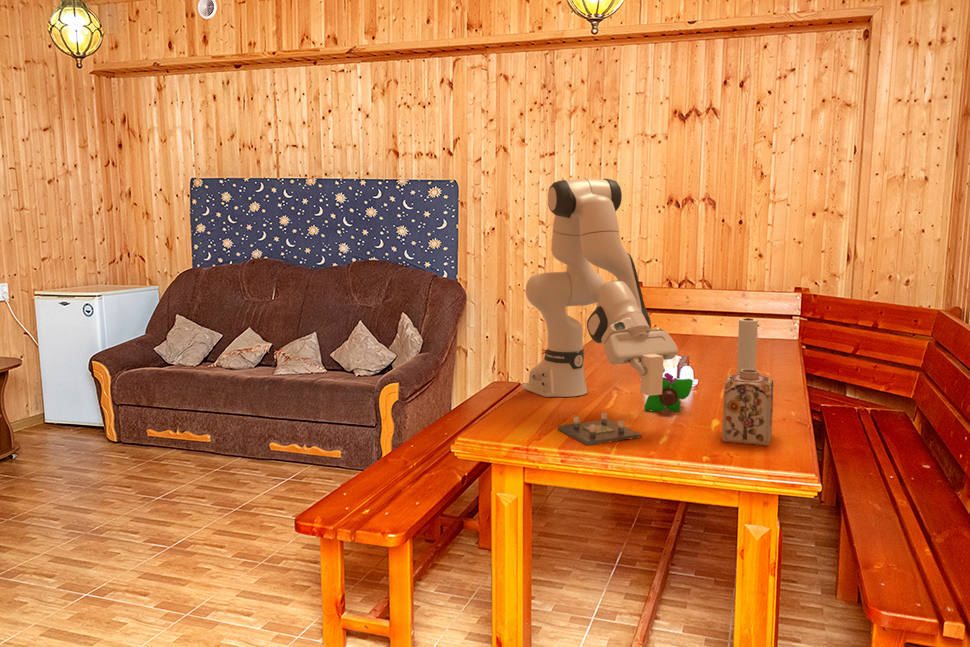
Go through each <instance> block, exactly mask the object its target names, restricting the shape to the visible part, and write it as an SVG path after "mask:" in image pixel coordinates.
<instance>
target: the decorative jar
mask: <svg viewBox="0 0 970 647" xmlns="http://www.w3.org/2000/svg"><path fill="white" fill-rule="evenodd" d="M725 379H726V380H725V384H724V388H723V405H722V407H723V408H722V409H723V410H722V425H721V426H722V427H721V430H722V431H721V432H722V433H721V440H722V442H724V443H735V444H743V443H744V444H745V445H753V444H755V446H762V445H765V446H764V447H769V446H770V443H771V439H772V432H773V410H774V408H773V407H774V381H773V379H772V378H770V377H769V376H766V375H763V374H760V370H758V369H756V370H754V369H741V370H740V374H737V373H736V374H731V375H730V374H729V375H728V376H726V378H725ZM744 444H743V445H744Z"/></svg>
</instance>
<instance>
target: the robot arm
mask: <svg viewBox="0 0 970 647" xmlns="http://www.w3.org/2000/svg"><path fill="white" fill-rule="evenodd" d="M622 198H623V195H622V188H621V186H620V185H619V183H618V182H617V181H616V180H614V179H611V178H603V179H601V178H593V177H592V178H588V177H587V178H585V177H584V178H576V179H569V180H568V179H567V180H566V179H562V180H558V181H555V182H553V183H552V184H551V186H550V187H549V188H548V192H547V204H548V209H549V210H550V212H552V214H553V215H554V217H553V224H552V236H551V247H550V251H551V254H552V256H553V258H555V260H557V261H559V262H560V263H562V264H565V265H566V267H567V268H566V270H565V271H558V272H557V271H556V272H555V271H553V272H542V273H538V274H535V275H532V276H530V277H529V279H528V280H527V282H526V285H525V296H526V298H527V300H528V302H529V303H530V304H531V305H532V306H533V307H534V308H536V309H537V310H538V311H539V312H540V313H541V315H542V316H543V318H544V321H545V325H546V330H547V348H546V349H544V350H541V352H542V353H541V354H542V355H544V357H543V360H542V361H540V362H539V363H538V364H537V365H535V366H534V367H532V368H531V369H530V371H529V375H528V382H524V383H523V384H522V385H521V389H523V390H526V391H529V392H532V393H534V394H537V395H539V396H542V397H546V398H549V397H550V398H551V397H552V398H553V397H561V398H563V397H567V398H568V397H570V398H571V397H577V396H583V395H585V394H587V393H588V388H587V384H586V379H585V378H586V377H585V369H584V360H585V349H584V348H583V346H584V345H583V339H584V337H583V336H584V334H583V332H584V331H583V329H584V328H583V325H582V324H581V322H580V321H579V320H577V319H576V318H574V317H572V316H570V315H568V314H567V312H566V311H567V310H566V308H567V307H575V306H576V307H578V306H579V307H580V306H581V307H582V306H590V305H594V304H596V307H595V309H594V310H593V311H592V313H591V314H590V315H589V317H588V319H587V321H586V330H587V331H588V334H589V336H590V338H591V340H593V342H595V343H596V344H603V345H604V346H603V350H604V352H605V356H606V358H607V360H608V363H610V364H612V365H614V366H615V365H625V364H630V365H631V367H632V368H633V369H634V370H636V371H637V372H638V374H639V376H640V377H641V376H643V375H646V374H647V373H648V371H647V370H646V367H643V366H642V365H641V357H642V355H649V354H657V355H660V356H663V363H664V361H667V360H673V359H674V358H675V357H676V356H677V354H678V353H679V348H678V345H677V344H676V342H675V341H674V339H673V338H672V337H671V335H670V333H669V332H668V331H667V330H665V329H662V328H659V327H657V328H652V322H651V317H650V315H649V312H648V310H647V308H646V305H645V302H644V297H643V293H642V289H641V285H640V281H639V276H638V272H637V268H636V265H635V262H634V260H633V259H634V258H633V257H632V255H631V254H630V253H629V252H627V251H626V248H624V245H623V243H622V239H621V236H620V228H619V221H618V217H617V211H618V209H619V208H620V207H621V204H622V201H623V200H622ZM591 264H592V265H593V266H595V267H598V268H600V269H603V270H604V271H606V272H607V271H608V272H609V273H610V274H612V275H613V276H615V277H616V279H617V280H609V281H607V282H605V281H604V279H603V277H602V275H601V274H599V273H598V272H597V271H596V270H595V269H594V268H593V266H592V265H591ZM665 371H666V368H665V367H664V365H663V374H665Z"/></svg>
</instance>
